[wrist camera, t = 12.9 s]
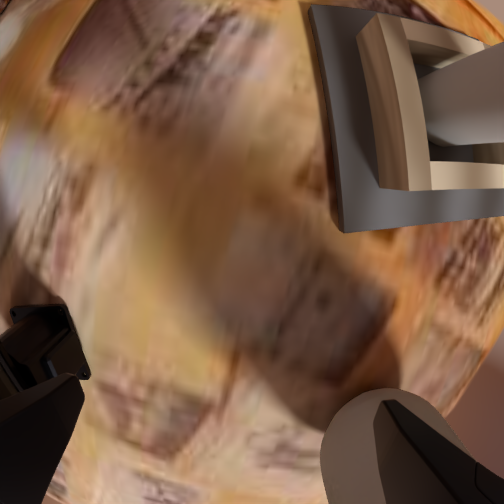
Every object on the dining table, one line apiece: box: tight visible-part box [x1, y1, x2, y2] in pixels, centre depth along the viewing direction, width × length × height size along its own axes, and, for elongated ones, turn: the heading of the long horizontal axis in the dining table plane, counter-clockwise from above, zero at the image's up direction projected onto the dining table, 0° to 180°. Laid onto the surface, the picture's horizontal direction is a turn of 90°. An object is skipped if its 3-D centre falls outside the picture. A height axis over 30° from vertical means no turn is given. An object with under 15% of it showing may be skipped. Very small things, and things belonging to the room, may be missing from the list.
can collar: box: [308, 4, 504, 233], centre depth 14 cm, size 15×15×4 cm
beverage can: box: [417, 42, 504, 147], centre depth 10 cm, size 5×5×12 cm
